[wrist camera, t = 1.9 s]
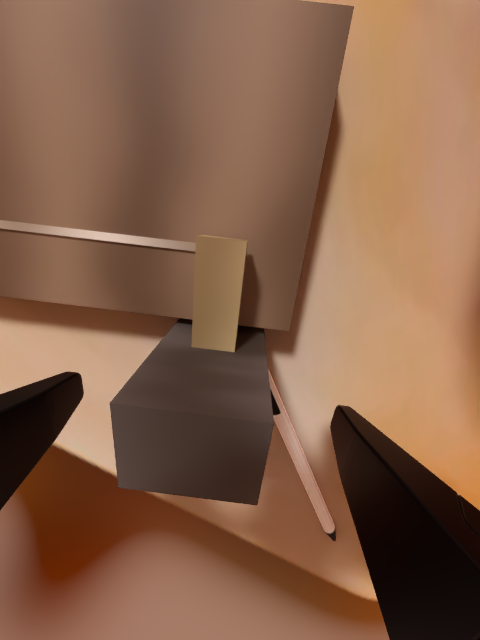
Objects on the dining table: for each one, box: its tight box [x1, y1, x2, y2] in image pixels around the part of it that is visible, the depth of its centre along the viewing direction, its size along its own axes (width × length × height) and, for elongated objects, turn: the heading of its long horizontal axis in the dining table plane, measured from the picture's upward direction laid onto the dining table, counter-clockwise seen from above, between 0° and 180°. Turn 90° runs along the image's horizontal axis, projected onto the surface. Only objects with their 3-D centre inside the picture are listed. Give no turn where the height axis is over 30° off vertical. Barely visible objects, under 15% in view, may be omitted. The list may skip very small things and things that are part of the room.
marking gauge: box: [110, 235, 274, 505], centre depth 9 cm, size 4×7×7 cm, turn 174°
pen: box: [268, 369, 336, 541], centre depth 15 cm, size 1×19×1 cm, turn 22°
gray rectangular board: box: [0, 0, 354, 331], centre depth 10 cm, size 24×10×2 cm, turn 84°
